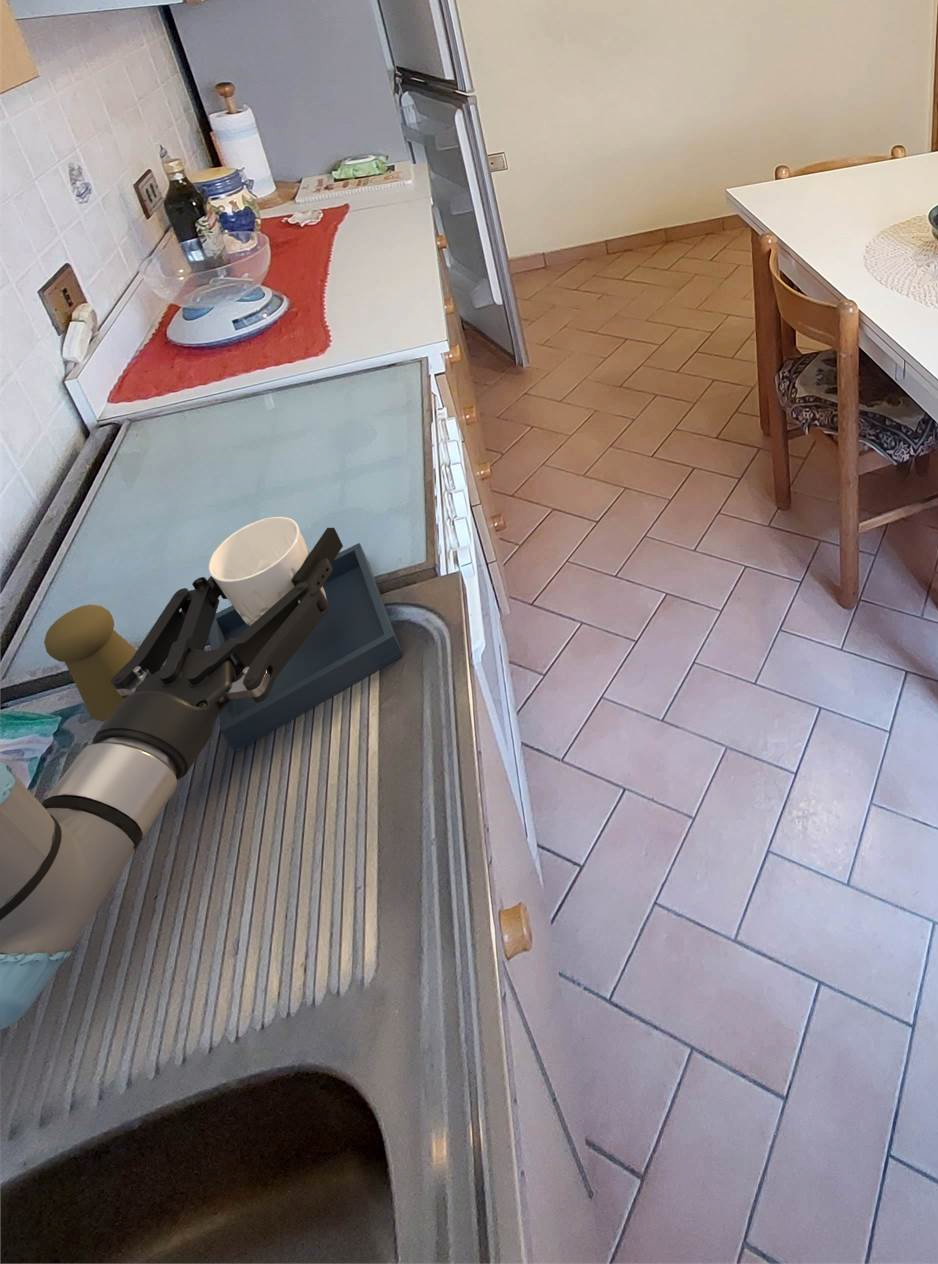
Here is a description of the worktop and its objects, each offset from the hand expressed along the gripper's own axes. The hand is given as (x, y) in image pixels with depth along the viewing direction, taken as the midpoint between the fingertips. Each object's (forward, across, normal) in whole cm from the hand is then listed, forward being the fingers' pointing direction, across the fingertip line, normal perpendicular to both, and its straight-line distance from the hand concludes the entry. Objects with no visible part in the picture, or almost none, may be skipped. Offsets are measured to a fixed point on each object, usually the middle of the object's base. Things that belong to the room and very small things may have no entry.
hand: (297, 537), depth 83 cm
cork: (-10, -17, -11) cm, 23 cm away
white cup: (-5, 0, -6) cm, 8 cm away
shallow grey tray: (-5, 0, -11) cm, 12 cm away
